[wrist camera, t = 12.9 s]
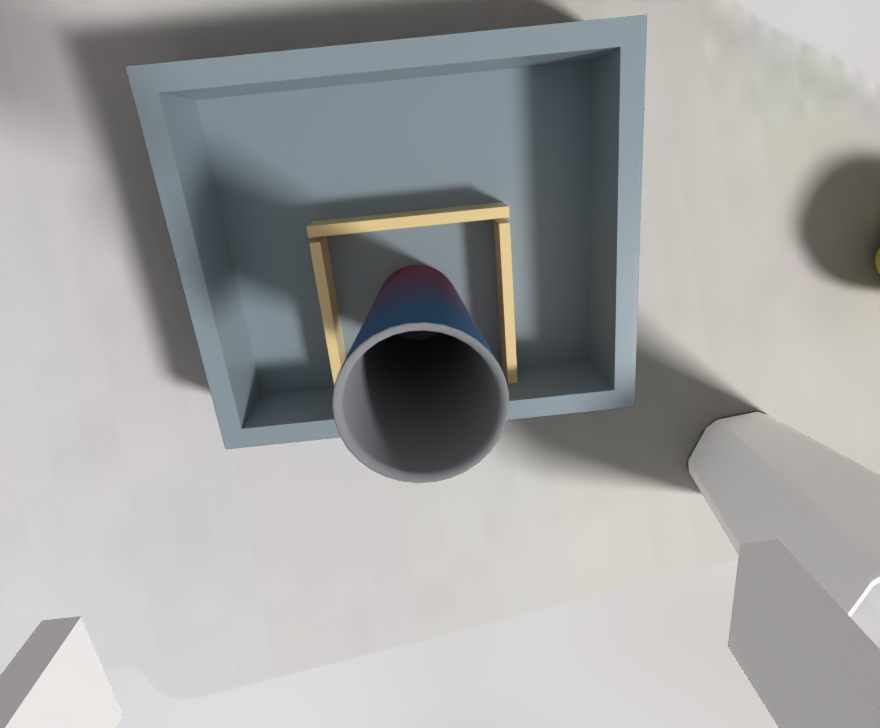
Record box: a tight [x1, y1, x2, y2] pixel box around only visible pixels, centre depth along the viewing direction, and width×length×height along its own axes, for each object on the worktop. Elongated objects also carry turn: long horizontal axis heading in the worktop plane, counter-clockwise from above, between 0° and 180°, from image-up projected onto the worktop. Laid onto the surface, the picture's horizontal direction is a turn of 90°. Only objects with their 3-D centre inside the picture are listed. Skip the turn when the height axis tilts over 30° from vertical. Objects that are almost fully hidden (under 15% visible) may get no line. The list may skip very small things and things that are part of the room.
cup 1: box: [332, 265, 509, 483], centre depth 29 cm, size 7×7×15 cm
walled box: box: [125, 15, 647, 449], centre depth 33 cm, size 20×24×6 cm
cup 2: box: [688, 412, 880, 649], centre depth 34 cm, size 11×10×17 cm
